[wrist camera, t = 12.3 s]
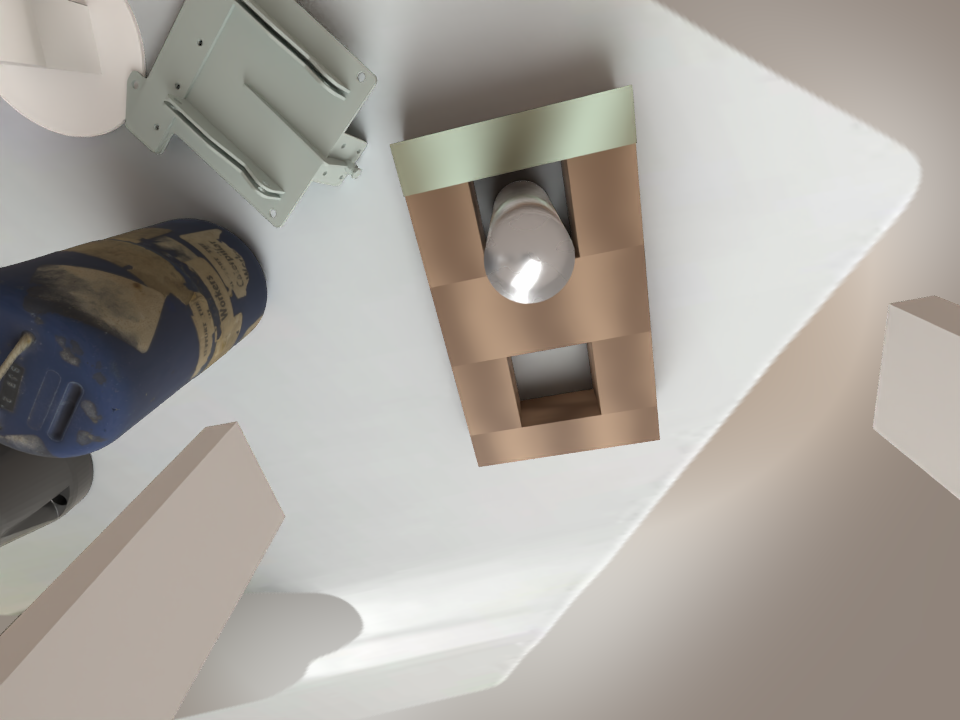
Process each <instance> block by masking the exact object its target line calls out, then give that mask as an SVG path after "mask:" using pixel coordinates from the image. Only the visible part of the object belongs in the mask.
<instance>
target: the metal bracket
mask: <svg viewBox="0 0 960 720" xmlns="http://www.w3.org/2000/svg"><path fill="white" fill-rule="evenodd" d="M201 40H202V46H200V45H199V43H200V41H201ZM360 73H364V74H365V80H364V81H363V82H360V81H359V80H358V76H359V74H360ZM136 81H137V82H138V85H139V86H138V88H137V89H135V88H134V83H135V82H136ZM178 84H179V85H180V88H179V89H177V86H178ZM376 84H377V78H376V76H375V75H374V74H373V73H372V72H371V71H370V70H369V69H368V68H367V67H366V66H364V65H363V64H362V63H361V62H360V61H359V60H358V59H357V58H356V57H355V56H354V55H353V54H352V53H351V52H349V51H348V50H347V49H346V48H345V47H344V46H343V45H342V44H341V43H340V42H339V41H338V40H337V39H336V38H334V37H333V36H332V35H331V34H330V33H329V32H328V31H327V30H326V29H325V28H324V27H323V26H322V25H321V24H319V23H318V22H317V21H316V20H315V19H314V18H313V17H312V16H311V15H310V14H309V13H308V12H307V11H306V10H304V9H303V8H302V7H301V6H300V5H299V4H298V3H297V2H296V1H295V0H185V2H184V4H183V6H182V8H181V10H180V13H179V15H178V17H177V19H176V21H175V23H174V25H173V27H172V29H171V31H170V33H169V35H168V37H167V39H166V41H165V43H164V45H163V47H162V49H161V51H160V53H159V55H158V57H157V60H156V62H155V64H154V66H153V68H152V70H151V72H150V74H149V76H148V78H145V77H144V76H143V75H142V74H141V73H139V72H137V71H132V72H131V73H130V76H129V78H128V80H127V96H126V119H125V122H126V128H127V129H128V130H129V131H130V132H131V133H132V134H133V135H134V136H136V137H137V138H138V139H139V140H140V141H141V142H142V143H143V144H144V145H145V146H146V147H147V148H148V149H149V150H150V151H152V152H154V153H156V154H162V153H163V152H164V150H165V148H166V147H167V145H168V143H169V141H170V139H171V137H172V136H173V135H174V134H176V135H177V136H178V137H179V138H180V139H181V140H182V141H184V142H185V143H186V144H187V145H188V146H189V147H190V148H191V149H192V150H193V151H194V152H195V153H196V154H197V155H198V156H200V157H201V158H202V159H203V160H204V161H205V162H206V163H207V164H208V165H209V166H210V167H211V168H212V169H213V170H215V171H216V172H217V173H218V174H219V175H220V176H221V177H222V178H223V179H224V180H225V181H226V182H227V183H228V184H229V185H231V186H232V187H233V188H234V189H235V190H236V191H237V192H238V193H239V194H240V195H241V196H242V197H243V198H244V199H246V200H247V201H248V202H249V203H250V204H251V205H252V206H253V207H254V208H255V209H256V210H257V211H258V212H259V213H260V214H262V215H263V216H264V217H265V218H266V219H267V220H268V221H269V222H270V223H271V224H272V225H273V226H275V227H276V228H280V227H282V226H283V225H284V223H285V222H286V220H287V219H288V217H289V216H290V214H291V213H292V211H293V210H294V208H295V207H296V205H297V204H298V202H299V201H300V199H301V198H302V196H303V195H304V193H305V192H306V190H307V188H308V187H309V185H310V184H311V182H317V183H322V184H327V185H332V186H339V185H340V184H341V183H342V181H343V180H344V178H345V177H346V176H347V174H349V175H351V176H352V178H353V179H356V178H357V177H359V176H360V174H361V171H362V170H361V169H359V168H357V167H358V166H357V165H356V164H355V162H356V161H357V160H358V158H359V157H360V155H361V154H362V152H363V151H364V149H365V148H366V146H367V143H366V142H365V141H364V140H362V139H359V138H357V137H354V136H352V135H350V134H347V133H345V131H346V130H347V128H348V127H349V125H350V124H351V122H352V121H353V119H354V118H355V116H356V115H357V113H358V112H359V110H360V109H361V107H362V106H363V104H364V102H365V101H366V99H367V98H368V96H369V95H370V93H371V92H372V90H373V89H374V87H375V86H376ZM157 125H158V126H159V129H158V130H157V129H156V127H157ZM273 209H274V210H275V211H276V216H275V217H274V218H273V217H272V216H271V210H273Z"/></svg>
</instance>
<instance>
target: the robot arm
mask: <svg viewBox="0 0 960 720" xmlns="http://www.w3.org/2000/svg"><path fill="white" fill-rule="evenodd" d="M873 429H874V430H876V431H877V432H878V433H879V434H880V435H882V436H883V437H884V438H885V439H887V440H888V441H889V442H890V443H891V444H893V445H894V446H895V447H896V448H898V449H899V450H900V451H901V452H902V453H904V454H905V455H906V456H907V457H908V458H910V459H911V460H912V461H913V462H914V463H916V464H917V465H918V466H919V467H921V468H922V469H923V470H924V471H926V472H927V473H928V474H929V475H930V476H932V477H933V478H934V479H935V480H936V481H938V482H939V483H940V484H941V485H943V486H944V487H945V488H946V489H948V490H949V491H950V492H951V493H952V494H953V495H955V496H956V497H957V498H958V499H960V305H958V304H955V303H952V302H950V301H947V300H945V299H942V298H940V297H937V296H929V297H924V298H918V299H913V300H907V301H901V302H896V303H890V304H889V307H888V315H887V322H886V330H885V338H884V345H883V353H882V361H881V369H880V377H879V384H878V391H877V399H876V407H875V414H874V422H873ZM92 480H93V465H92V461H91V457H90V454H86V455H81V456H76V457H68V458H52V457H43V456H37V455H32V454H28V453H25V452H21V451H18V450H15V449H13V448H10V447H8V446H5V445H3V444H1V443H0V547H1V546H4V545H6V544H8V543H10V542H12V541H14V540H16V539H18V538H20V537H23V536H25V535H27V534H29V533H31V532H33V531H35V530H37V529H39V528H42V527H44V526H46V525H48V524H50V523H52V522H54V521H56V520H58V519H59V518H61V517H62V516H64V515H65V514H66V513H67V512H68V511H70V510H71V509H72V508H73V507H74V506H75V505H76V504H78V503H79V502H80V501H81V500H82V499H83V498H84V497H85V496H86V494H87V493H88V491H89V489H90V487H91V484H92ZM284 518H285V515H284V513H283V511H282V509H281V507H280V505H279V503H278V501H277V499H276V497H275V495H274V493H273V491H272V489H271V487H270V485H269V483H268V481H267V479H266V477H265V476H264V474H263V472H262V470H261V468H260V466H259V464H258V462H257V460H256V458H255V456H254V454H253V452H252V450H251V448H250V446H249V444H248V442H247V440H246V438H245V436H244V434H243V432H242V430H241V428H240V426H239V424H238V422H231V423H226V424H220V425H215V426H209V427H205V428H204V429H203V430H202V431H201V432H200V433H199V434H198V435H197V436H196V437H195V438H194V439H193V440H192V441H191V442H190V443H189V444H188V445H187V446H186V447H185V448H184V450H183V451H182V452H181V453H180V454H179V455H178V456H177V457H176V458H175V459H174V460H173V461H172V462H171V463H170V464H169V465H168V466H167V467H166V468H165V469H164V470H163V471H162V472H161V473H160V474H159V475H158V476H157V477H156V478H155V479H154V480H153V481H152V482H151V483H150V484H149V485H148V486H147V487H146V488H145V489H144V490H143V491H142V492H141V493H140V494H139V495H138V496H137V497H136V498H135V499H134V500H133V501H132V502H131V503H130V504H129V505H128V506H127V507H126V508H125V509H124V510H123V512H122V513H121V514H120V515H119V516H118V517H117V518H116V519H115V520H114V521H113V522H112V523H111V524H110V525H109V526H108V527H107V528H106V529H105V530H104V531H103V532H102V533H101V534H100V535H99V536H98V537H97V538H96V539H95V540H94V541H93V542H92V543H91V544H90V545H89V546H88V547H87V548H86V549H85V550H84V551H83V552H82V553H81V554H80V555H79V556H78V557H77V558H76V559H75V560H74V561H73V562H72V563H71V564H70V565H69V566H68V567H67V568H66V569H65V570H64V571H63V572H62V574H61V575H60V576H59V577H58V578H57V579H56V580H55V581H54V582H53V583H52V584H51V585H50V586H49V587H48V588H47V589H46V590H45V591H44V592H43V593H42V594H41V595H40V596H39V597H38V598H37V599H36V600H35V601H34V602H33V603H32V604H31V605H30V606H29V607H28V608H27V609H26V610H25V611H24V612H23V613H22V614H21V615H19V616H18V617H17V619H16V620H15V621H14V622H13V623H12V624H11V625H10V626H9V627H8V628H7V629H6V630H5V631H4V632H3V633H2V634H1V635H0V720H173V718H174V716H175V715H176V713H177V711H178V709H179V708H180V706H181V704H182V702H183V700H184V698H185V697H186V695H187V693H188V691H189V689H190V688H191V686H192V684H193V682H194V680H195V679H196V677H197V675H198V673H199V671H200V670H201V668H202V666H203V664H204V662H205V661H206V659H207V657H208V655H209V653H210V652H211V650H212V648H213V646H214V644H215V642H216V641H217V639H218V637H219V635H220V634H221V632H222V630H223V628H224V626H225V625H226V623H227V621H228V619H229V617H230V616H231V614H232V612H233V610H234V608H235V606H236V605H237V603H238V601H239V599H240V597H241V596H242V594H243V592H244V590H245V589H246V587H247V585H248V583H249V581H250V580H251V578H252V576H253V574H254V572H255V571H256V569H257V567H258V565H259V563H260V562H261V560H262V558H263V556H264V554H265V553H266V551H267V549H268V547H269V545H270V544H271V542H272V540H273V538H274V536H275V535H276V533H277V531H278V529H279V527H280V526H281V524H282V522H283V520H284Z"/></svg>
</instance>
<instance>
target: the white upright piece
mask: <svg viewBox="0 0 960 720" xmlns="http://www.w3.org/2000/svg"><path fill="white" fill-rule="evenodd" d="M132 71H137V72H139V73H141V74H142V75H143V76H144V77H145V75H146V62H145V52H144V45H143V41H142V37H141V33H140V30H139V27H138V24H137V21H136V19H135V16H134V14H133V12H132V9H131V7H130V5H129V3H128V1H127V0H0V96H1V97H2V98H3V99H4V100H5V101H6V102H7V103H8V104H9V105H11V106H12V107H13V108H14V109H15V110H16V111H18V112H19V113H20V114H22V115H23V116H24V117H26V118H27V119H29V120H31V121H32V122H34V123H36V124H37V125H39V126H41V127H43V128H45V129H48V130H50V131H53V132H56V133H59V134H63V135H67V136H74V137H93V136H99V135H103V134H107V133H109V132H111V131H113V130H115V129H117V128H119V127H120V126H121V125H123V124H124V123H125V119H126V96H127V80H128V78H129V76H130V73H131V72H132ZM138 86H139V85H138V82H137V81H136V82H135V83H134V88H135V89H137V88H138Z"/></svg>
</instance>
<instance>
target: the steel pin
mask: <svg viewBox="0 0 960 720" xmlns="http://www.w3.org/2000/svg"><path fill="white" fill-rule="evenodd" d="M574 263H575V251H574V246H573V243H572V240H571V238H570V236H569V234H568V233H567V231H566V229H565V227H564V225H563V223H562V221H561V220H560V218H559V216H558V214H557V212H556V210H555V208H554V207H553V205H552V203H551V201H550V199H549V197H548V196H547V194H546V192H545V191H544V190H543V189H542V188H541V187H540V186H539V185H537V184H536V183H533V182H530V181H524V180H523V181H515V182H512V183H510V184H508V185H507V186H505V187H504V188H503V189H502V190H501V191H500V192H499V194H498V195H497V197H496V200H495V202H494V207H493V212H492V217H491V222H490V227H489V232H488V237H487V242H486V247H485V252H484V267H485V272H486V275H487V277H488V280H489V281H490V283H491V285H492V286H493V287H494V288H495V290H496V291H498V292H499V293H500V294H501V295H502V296H504V297H506V298H507V299H509V300H512V301H515V302H519V303H538V302H541V301H544V300H547V299H549V298H551V297H553V296H554V295H556V294H557V293H558V292H559V291H560V290H561V289H562V288H563V287H564V286H565V285H566V283H567V282H568V280H569V279H570V277H571V274H572V272H573V269H574Z"/></svg>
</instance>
